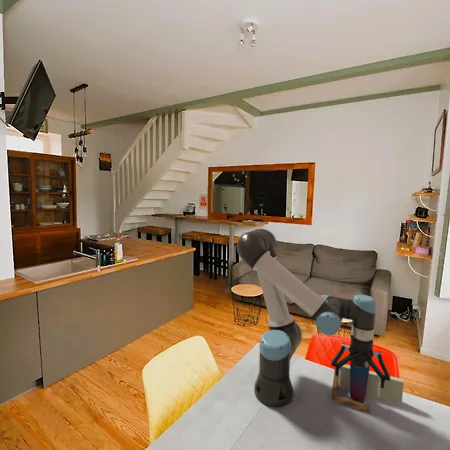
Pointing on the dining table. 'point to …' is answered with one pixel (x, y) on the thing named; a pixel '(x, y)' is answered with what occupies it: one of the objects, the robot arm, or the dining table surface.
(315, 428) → the dining table surface
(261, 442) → the dining table surface
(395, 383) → the wall board
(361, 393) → the cup
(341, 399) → the bracket
